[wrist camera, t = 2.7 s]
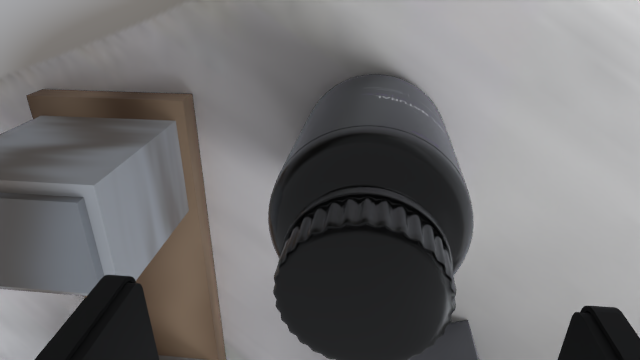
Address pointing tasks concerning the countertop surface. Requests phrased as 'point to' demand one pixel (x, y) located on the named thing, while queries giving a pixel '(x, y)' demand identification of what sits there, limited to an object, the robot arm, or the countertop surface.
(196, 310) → the rail
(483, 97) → the countertop surface
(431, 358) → the block
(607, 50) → the countertop surface
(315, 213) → the supplement bottle
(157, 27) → the countertop surface
